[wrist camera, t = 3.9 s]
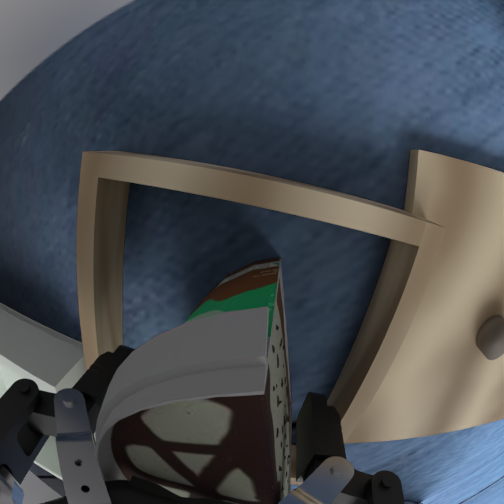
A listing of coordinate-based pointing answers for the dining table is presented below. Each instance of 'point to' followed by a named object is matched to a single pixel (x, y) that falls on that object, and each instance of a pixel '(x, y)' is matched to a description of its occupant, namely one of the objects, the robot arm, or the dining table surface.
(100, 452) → the food container
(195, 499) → the robot arm
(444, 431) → the bin lid
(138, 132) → the dining table surface
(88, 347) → the bin frame
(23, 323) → the bin
